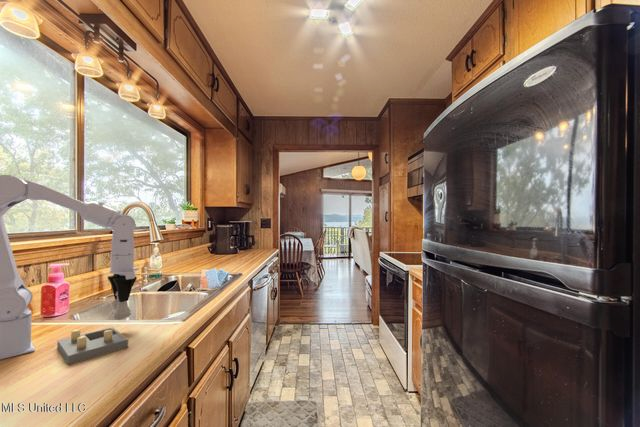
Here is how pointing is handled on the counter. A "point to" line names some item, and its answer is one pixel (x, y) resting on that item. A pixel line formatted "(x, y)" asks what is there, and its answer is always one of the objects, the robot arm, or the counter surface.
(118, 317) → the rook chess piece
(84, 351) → the pin board
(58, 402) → the counter surface
